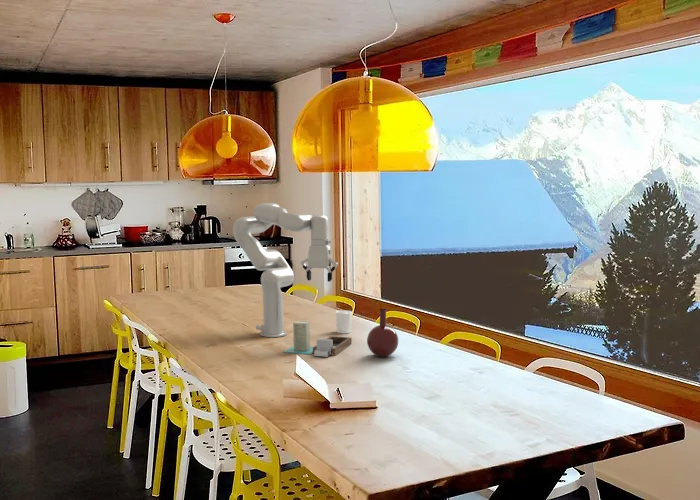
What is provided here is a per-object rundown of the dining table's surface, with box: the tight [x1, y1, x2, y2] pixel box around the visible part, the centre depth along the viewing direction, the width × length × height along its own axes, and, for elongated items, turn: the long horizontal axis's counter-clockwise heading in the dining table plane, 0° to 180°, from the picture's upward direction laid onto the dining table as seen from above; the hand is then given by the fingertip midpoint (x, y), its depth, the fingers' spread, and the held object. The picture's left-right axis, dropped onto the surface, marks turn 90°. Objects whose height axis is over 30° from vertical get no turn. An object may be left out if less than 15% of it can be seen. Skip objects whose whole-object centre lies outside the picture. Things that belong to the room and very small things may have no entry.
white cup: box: [335, 309, 353, 335], centre depth 363 cm, size 8×8×10 cm
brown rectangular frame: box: [312, 335, 353, 357], centre depth 329 cm, size 10×23×3 cm, turn 163°
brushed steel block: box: [313, 338, 334, 358], centre depth 316 cm, size 6×6×6 cm
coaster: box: [283, 345, 314, 355], centre depth 326 cm, size 12×12×1 cm
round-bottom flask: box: [366, 308, 399, 358], centre depth 315 cm, size 13×13×20 cm
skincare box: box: [292, 320, 311, 351], centre depth 325 cm, size 6×4×12 cm
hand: (319, 280), depth 339 cm, fingers open, 9 cm apart
